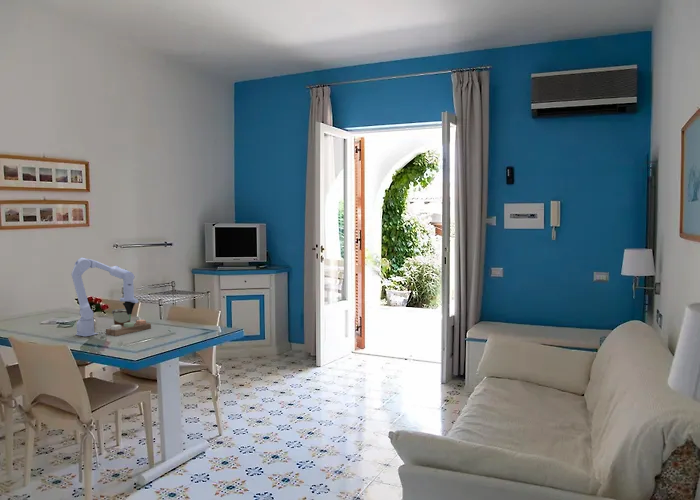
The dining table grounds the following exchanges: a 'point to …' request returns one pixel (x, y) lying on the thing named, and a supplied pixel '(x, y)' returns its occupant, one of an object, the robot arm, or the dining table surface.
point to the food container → (120, 316)
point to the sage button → (128, 324)
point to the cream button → (115, 327)
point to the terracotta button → (141, 322)
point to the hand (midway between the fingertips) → (129, 314)
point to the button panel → (128, 329)
